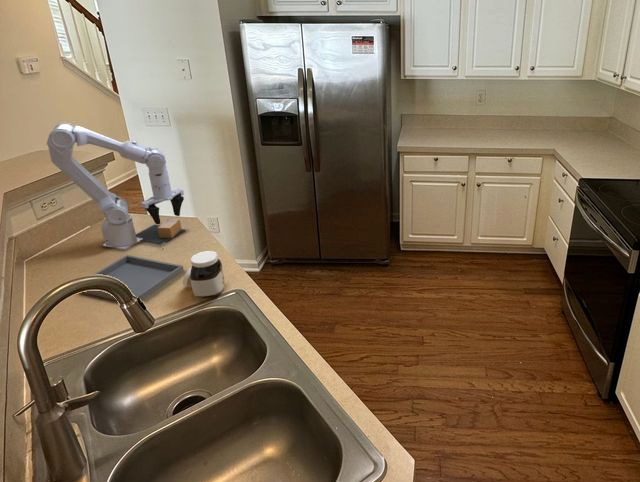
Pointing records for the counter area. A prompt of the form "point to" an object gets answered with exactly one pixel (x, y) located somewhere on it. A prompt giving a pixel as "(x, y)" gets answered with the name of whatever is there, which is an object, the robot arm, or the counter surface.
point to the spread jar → (205, 275)
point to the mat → (155, 235)
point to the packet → (169, 228)
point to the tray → (140, 275)
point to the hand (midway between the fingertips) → (167, 219)
